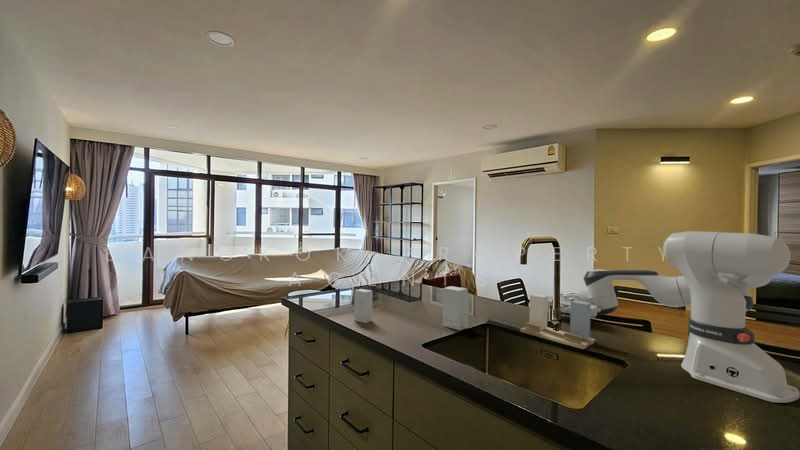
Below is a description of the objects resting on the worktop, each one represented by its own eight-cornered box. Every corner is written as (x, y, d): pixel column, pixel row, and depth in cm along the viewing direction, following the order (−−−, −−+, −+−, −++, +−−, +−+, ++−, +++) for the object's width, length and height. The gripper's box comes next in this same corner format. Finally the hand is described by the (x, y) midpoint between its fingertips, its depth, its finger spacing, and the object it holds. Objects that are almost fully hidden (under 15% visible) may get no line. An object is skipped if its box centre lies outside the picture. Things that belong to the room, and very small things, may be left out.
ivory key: (534, 325, 132) (535, 293, 132) (547, 328, 128) (548, 295, 128) (529, 327, 129) (530, 294, 129) (542, 330, 125) (543, 297, 125)
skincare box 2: (468, 328, 130) (469, 288, 130) (458, 331, 126) (460, 290, 126) (450, 322, 136) (451, 285, 136) (440, 325, 132) (442, 286, 132)
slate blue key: (574, 333, 123) (575, 300, 122) (589, 337, 119) (590, 302, 119) (569, 336, 120) (570, 301, 120) (585, 340, 116) (586, 304, 116)
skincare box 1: (372, 320, 136) (373, 290, 136) (365, 323, 133) (366, 292, 132) (360, 318, 139) (361, 288, 139) (353, 320, 136) (354, 290, 136)
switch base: (533, 326, 135) (533, 317, 135) (595, 342, 119) (595, 332, 118) (519, 331, 128) (520, 322, 128) (583, 349, 111) (584, 338, 111)
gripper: (602, 317, 139) (590, 324, 130) (551, 307, 154) (537, 312, 144) (602, 302, 139) (591, 307, 130) (551, 293, 154) (537, 297, 144)
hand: (562, 310), depth 137 cm, fingers closed
